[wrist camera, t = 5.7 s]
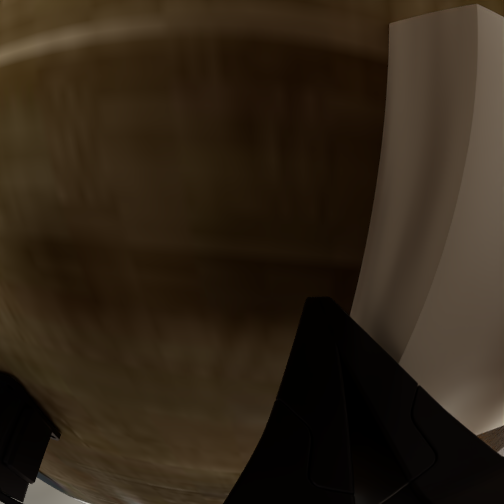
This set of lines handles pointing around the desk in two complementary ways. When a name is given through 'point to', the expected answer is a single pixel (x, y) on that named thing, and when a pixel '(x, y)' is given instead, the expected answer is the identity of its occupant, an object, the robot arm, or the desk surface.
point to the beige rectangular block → (442, 213)
